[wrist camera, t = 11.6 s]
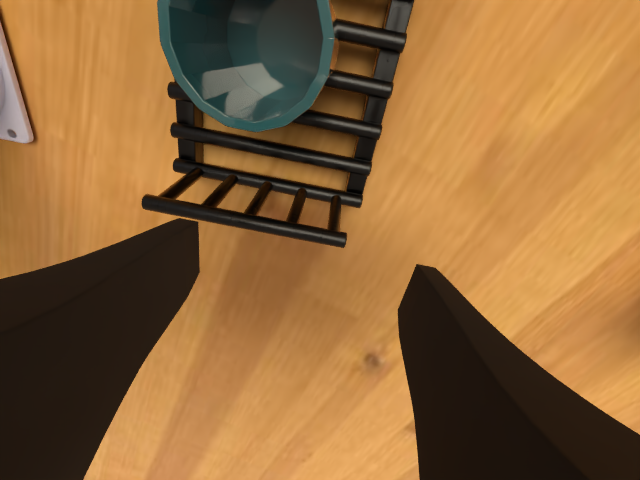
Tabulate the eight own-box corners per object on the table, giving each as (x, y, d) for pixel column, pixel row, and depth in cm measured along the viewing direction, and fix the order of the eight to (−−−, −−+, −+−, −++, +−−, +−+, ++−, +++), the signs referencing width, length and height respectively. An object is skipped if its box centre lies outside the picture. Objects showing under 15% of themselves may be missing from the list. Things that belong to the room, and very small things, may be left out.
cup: (222, 94, 16) (165, 114, 11) (224, -45, 13) (148, -102, 8) (326, 115, 16) (316, 144, 11) (350, -17, 13) (351, -58, 8)
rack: (188, 164, 20) (122, 211, 14) (172, -209, 12) (14, -440, 6) (358, 198, 20) (362, 257, 14) (449, -147, 13) (535, -315, 7)
